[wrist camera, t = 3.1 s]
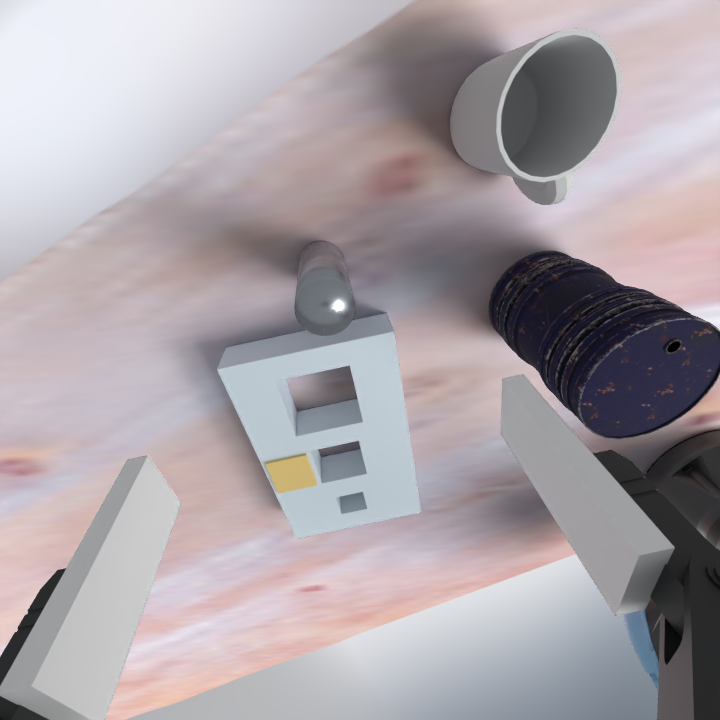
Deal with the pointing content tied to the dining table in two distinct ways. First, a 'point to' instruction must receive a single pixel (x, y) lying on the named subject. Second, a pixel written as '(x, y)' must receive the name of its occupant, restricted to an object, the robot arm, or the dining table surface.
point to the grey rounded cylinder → (323, 290)
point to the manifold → (328, 426)
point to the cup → (539, 111)
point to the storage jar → (605, 344)
